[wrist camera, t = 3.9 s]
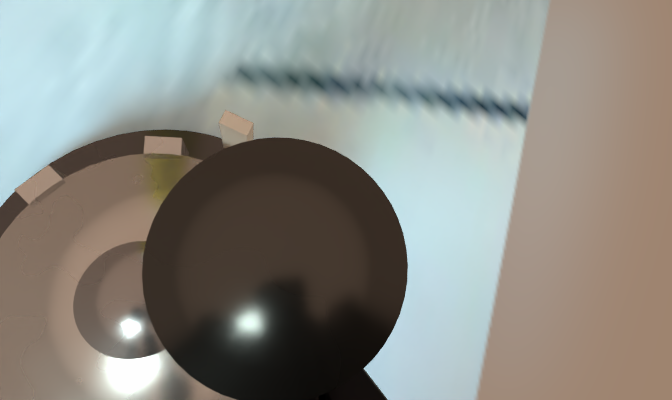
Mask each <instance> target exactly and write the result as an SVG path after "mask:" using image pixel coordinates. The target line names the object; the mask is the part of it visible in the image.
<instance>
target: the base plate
mask: <svg viewBox="0 0 672 400" xmlns="http://www.w3.org/2000/svg"><path fill="white" fill-rule="evenodd" d="M219 126H220V131H221V136H222V139H221V138H218V137H214V136H211V135H207V134H201V133H196V132H190V131H179V130H149V131H138V132H133V133H127V134H121V135H116V136H113V137H110V138H106V139H103V140H99V141H96V142H93V143H91V144H88V145H86V146H84V147H81V148H79V149H76V150H74V151H72V152H70V153H68V154H66V155H65V156H63V157H61V158H59V159H57V160H56V161H54V162H52V163H50V164H49V165H50V166H51V167H53V168H55V169H56V170H58V171H60V172H61V173H63V174H65V175H66V176H69V175H71V174H73V173H75V172H77V171H79V170H81V169H84V168H86V167H88V166H90V165H93V164H97V163H100V162H103V161H106V160H109V159H113V158H118V157H123V156H128V155H136V154H144V142H145V136H155V137H175V138H182V139H183V141H184V143H185V145H186V148H187V150H188V152H189V154H188V157H192V158H196V159H200V160H205V159H206V158H208V157H209V156H211V155H213V154H215V153H217V152H219V151H221V150H223V149H225V148H227V147H230V146H233V145H236V144H239V143H242V142H246V141H251V140H253V123H252V122H250V121H248V120H246V119H243V118H241V117H239V116H237V115H235V114H233V113H231V112H229V111H227V110H225V112H224V114H223V116H222V118H221V119H220V121H219ZM43 169H44V168H43ZM39 172H40V171H39ZM36 174H37V173H36ZM32 177H33V176H32ZM29 179H30V178H29ZM28 205H29V204H28V203H27V202H26V201H25V200H24V199H23V198H22V197H21V196H20V195H19V194H18V193H17V192H16V191H15V192H14V193H13V194H12V195H11V196H10V197H9V198H8V199H7V200H6V202H5V203H4V204H3V205H2V206H1V207H0V238H1V236H2V235H3V233H4V232H5V231H6V229H7V228H8V227H9V226H10V224H11V223H12V222H13V221H14V219H15V218H16V217H17V216H18V215H19V214H20V213H21V212H22V211H23V210H24V209H25V208H26V207H27V206H28Z"/></svg>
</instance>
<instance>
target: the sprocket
mask: <svg viewBox="0 0 672 400" xmlns="http://www.w3.org/2000/svg"><path fill="white" fill-rule="evenodd" d="M188 154H189V152H188V150H187V148H186V145H185V143H184V141H183V139H182V138H175V137H155V136H145V142H144V154H136V155H128V156H123V157H118V158H113V159H109V160H106V161H103V162H100V163H97V164H93V165H90V166H88V167H86V168H84V169H81V170H79V171H77V172H75V173H73V174H71V175H69V176H66V175H65V174H63V173H61V172H60V171H58V170H56V169H55V168H53V167H51V166H50V165H48V166H46V167H45V168H44V169H42V170H41V171H40V172H38V173H37V174H35V175H34V176H33V177H31V178H30V179H28V180H27V181H26V182H24V183H23V184H22V185H20V186H19V187H17V188H16V189H15V191H16V192H17V193H18V194H19V195H20V196H21V197H22V198H23V199H24V200H25V201H26V202H27V203H28V204H29V205H28V206H27V207H26V208H25V209H24V210H23V211H22V212H21V213H20V214H19V215H18V216H17V217H16V218H15V219H14V221H13V222H12V223H11V224H10V226H9V227H8V228H7V229H6V231H5V232H4V233H3V235H2V236H1V238H0V400H308V399H312V398H315V397H317V396H320V395H322V394H325V393H327V392H330V391H332V390H333V389H335V388H337V387H339V386H340V385H342V384H344V383H346V382H347V381H349V380H350V379H351V378H352V377H354V376H355V375H356V374H358V373H359V372H360V371H361V370H362V369H363V368H364V367H365V366H366V365H367V364H368V363H369V362H370V361H371V360H372V359H373V358H374V357H375V356H376V355H377V353H378V352H379V351H380V349H381V348H382V347H383V345H384V344H385V342H386V341H387V339H388V337H389V336H390V334H391V332H392V330H393V328H394V326H395V324H396V321H397V319H398V317H399V314H400V311H401V308H402V304H403V301H404V297H405V291H406V285H407V268H408V264H407V252H406V245H405V241H404V236H403V232H402V229H401V226H400V223H399V220H398V217H397V215H396V213H395V211H394V209H393V207H392V205H391V203H390V202H389V200H388V198H387V197H386V195H385V194H384V192H383V191H382V189H381V188H380V187H379V186H378V185H377V183H376V182H375V181H374V180H373V179H372V178H371V177H370V176H369V175H368V174H367V173H366V172H365V171H364V170H363V169H362V168H361V167H359V166H358V165H357V164H355V163H354V162H353V161H351V160H350V159H348V158H347V157H345V156H343V155H342V154H340V153H338V152H336V151H334V150H332V149H329V148H327V147H325V146H322V145H319V144H316V143H312V142H309V141H305V140H299V139H292V138H264V139H256V140H251V141H246V142H242V143H239V144H236V145H233V146H230V147H227V148H225V149H223V150H221V151H219V152H217V153H215V154H213V155H211V156H209V157H208V158H206V159H205V160H200V159H196V158H192V157H188Z"/></svg>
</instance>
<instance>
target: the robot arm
mask: <svg viewBox="0 0 672 400" xmlns="http://www.w3.org/2000/svg"><path fill="white" fill-rule="evenodd" d="M308 400H387V398H386V397H385V396H384V394H383V393H382V392H381V390H380V389H379V388H378V387H377V385H376V384H375V383H374V381H373V380H372V379H371V378H370V376H369V375H368V374H367V372H366V371H365V370H364V369H362V370H361V371H360V372H359V373H358V374H356V375H355V376H354V377H352V378H351V379H350V380H349V381H347V382H346V383H344V384H342V385H340V386H339V387H337V388H335V389H333V390H332V391H330V392H327V393H325V394H322V395H320V396H317V397H315V398H312V399H308Z"/></svg>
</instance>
